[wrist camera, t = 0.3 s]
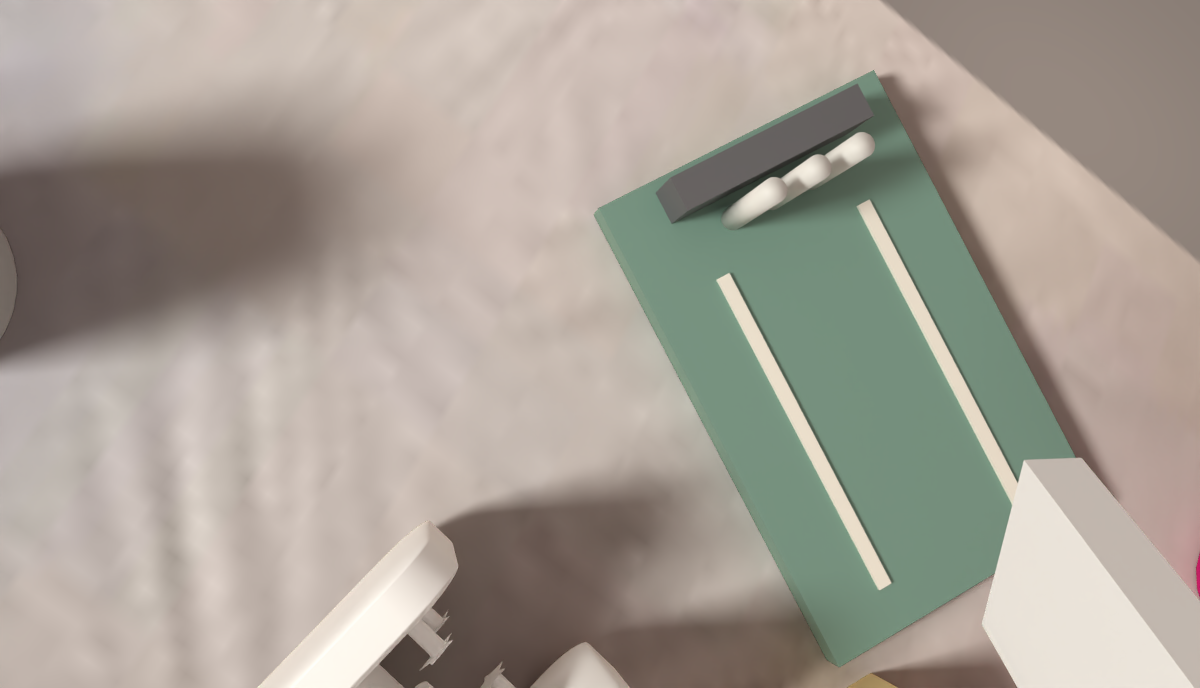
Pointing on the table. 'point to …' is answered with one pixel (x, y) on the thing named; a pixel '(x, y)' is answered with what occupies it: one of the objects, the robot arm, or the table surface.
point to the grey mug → (6, 283)
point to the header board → (840, 359)
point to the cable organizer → (408, 628)
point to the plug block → (871, 682)
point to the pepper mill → (1198, 575)
